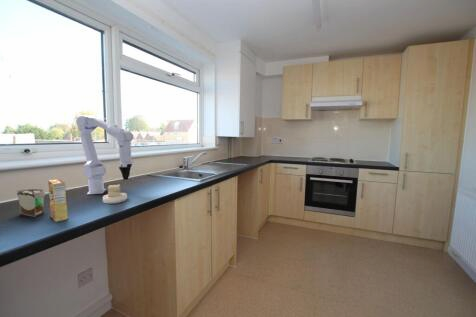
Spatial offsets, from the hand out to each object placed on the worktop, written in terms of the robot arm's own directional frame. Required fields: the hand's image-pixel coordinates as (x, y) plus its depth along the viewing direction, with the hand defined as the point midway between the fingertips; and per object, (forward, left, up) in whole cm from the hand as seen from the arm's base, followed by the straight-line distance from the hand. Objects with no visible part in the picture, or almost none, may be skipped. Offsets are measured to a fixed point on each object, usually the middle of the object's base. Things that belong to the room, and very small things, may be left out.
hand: (126, 178), depth 123 cm
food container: (+16, -34, -10) cm, 39 cm away
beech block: (+7, -5, -7) cm, 11 cm away
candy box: (+26, -23, -10) cm, 36 cm away
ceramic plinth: (+7, -5, -10) cm, 13 cm away
